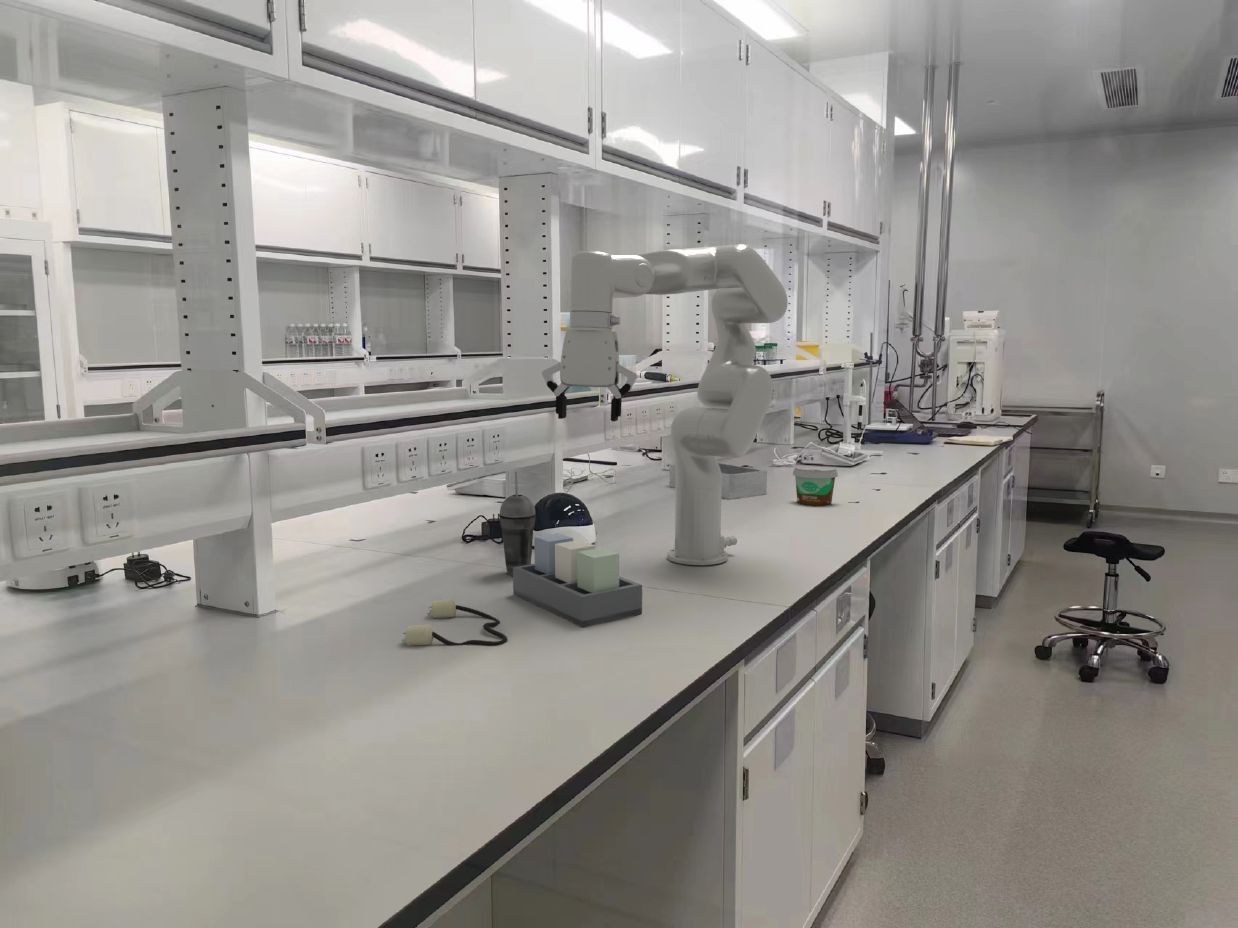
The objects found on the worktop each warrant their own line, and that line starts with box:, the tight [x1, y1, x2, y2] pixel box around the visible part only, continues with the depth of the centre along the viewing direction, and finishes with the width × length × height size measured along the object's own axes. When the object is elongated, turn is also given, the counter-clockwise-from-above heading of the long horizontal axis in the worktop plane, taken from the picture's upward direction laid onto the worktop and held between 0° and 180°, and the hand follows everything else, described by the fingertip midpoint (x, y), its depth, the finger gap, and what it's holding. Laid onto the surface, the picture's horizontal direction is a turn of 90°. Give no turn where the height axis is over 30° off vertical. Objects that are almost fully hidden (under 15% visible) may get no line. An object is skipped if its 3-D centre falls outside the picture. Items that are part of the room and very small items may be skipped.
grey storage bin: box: [669, 462, 768, 500], centre depth 267 cm, size 15×27×7 cm, turn 36°
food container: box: [792, 467, 839, 507], centre depth 244 cm, size 12×6×10 cm, turn 73°
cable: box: [401, 598, 508, 647], centre depth 139 cm, size 16×16×4 cm
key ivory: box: [555, 539, 596, 583], centre depth 152 cm, size 5×5×6 cm
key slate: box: [533, 532, 574, 574], centre depth 157 cm, size 5×5×6 cm
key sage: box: [577, 547, 620, 593], centre depth 146 cm, size 5×5×6 cm
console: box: [512, 563, 643, 628], centre depth 153 cm, size 12×22×5 cm, turn 36°
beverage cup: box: [498, 471, 537, 577], centre depth 171 cm, size 7×7×20 cm
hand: (588, 419), depth 158 cm, fingers open, 9 cm apart
